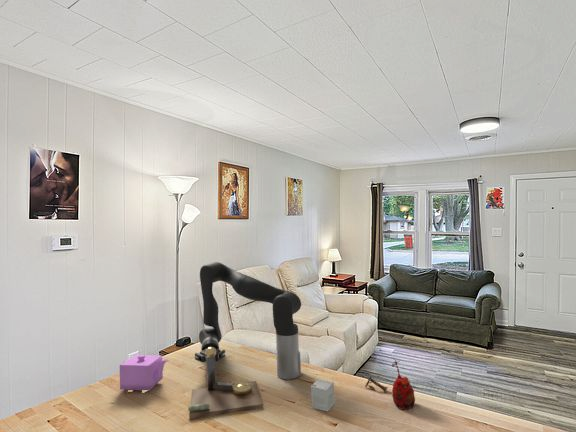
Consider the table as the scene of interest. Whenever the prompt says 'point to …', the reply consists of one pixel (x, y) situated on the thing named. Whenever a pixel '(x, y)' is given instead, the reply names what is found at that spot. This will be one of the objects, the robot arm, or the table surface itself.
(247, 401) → the walnut base
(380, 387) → the wooden post with brackets
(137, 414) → the table surface
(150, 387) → the teapot
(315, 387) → the skincare box
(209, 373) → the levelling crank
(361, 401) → the table surface
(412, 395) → the red rounded piece
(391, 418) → the table surface
